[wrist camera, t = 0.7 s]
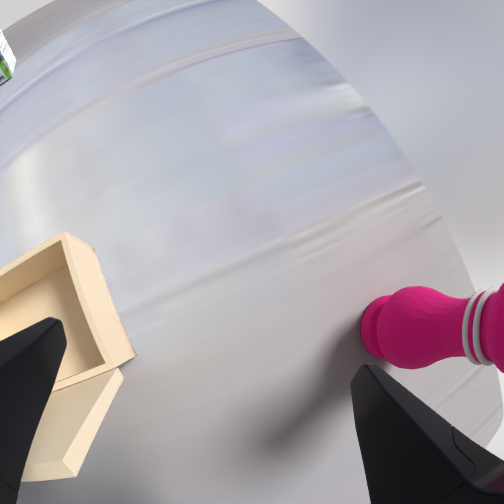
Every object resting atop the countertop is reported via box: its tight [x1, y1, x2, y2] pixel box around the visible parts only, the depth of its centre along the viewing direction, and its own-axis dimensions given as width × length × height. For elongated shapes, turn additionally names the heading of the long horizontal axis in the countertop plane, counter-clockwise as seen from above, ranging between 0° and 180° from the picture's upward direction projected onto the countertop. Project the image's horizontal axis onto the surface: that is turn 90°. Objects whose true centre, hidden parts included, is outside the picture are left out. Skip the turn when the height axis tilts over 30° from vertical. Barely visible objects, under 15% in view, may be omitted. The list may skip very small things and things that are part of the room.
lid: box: [21, 368, 124, 482], centre depth 9 cm, size 10×14×1 cm
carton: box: [0, 231, 136, 392], centre depth 17 cm, size 10×14×6 cm
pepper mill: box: [361, 283, 504, 373], centre depth 15 cm, size 7×7×20 cm
